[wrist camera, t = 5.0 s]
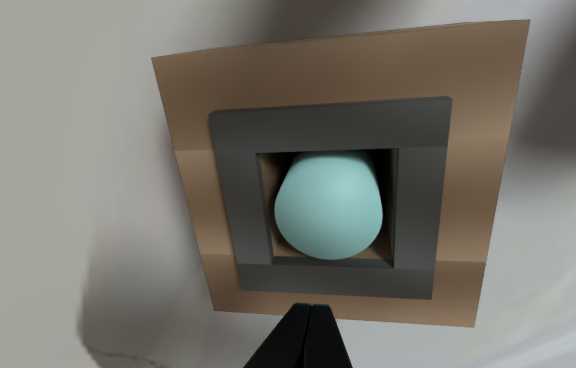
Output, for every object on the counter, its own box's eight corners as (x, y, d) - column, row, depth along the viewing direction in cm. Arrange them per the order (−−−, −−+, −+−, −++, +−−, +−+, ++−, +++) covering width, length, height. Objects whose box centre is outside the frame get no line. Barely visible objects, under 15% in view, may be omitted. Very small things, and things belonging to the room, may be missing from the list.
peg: (373, 193, 18) (381, 261, 13) (300, 194, 19) (280, 258, 14) (373, 121, 16) (383, 164, 11) (293, 125, 17) (268, 167, 12)
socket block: (441, 246, 20) (478, 339, 14) (247, 242, 22) (209, 320, 16) (465, 22, 15) (541, 18, 9) (213, 48, 17) (141, 58, 11)
